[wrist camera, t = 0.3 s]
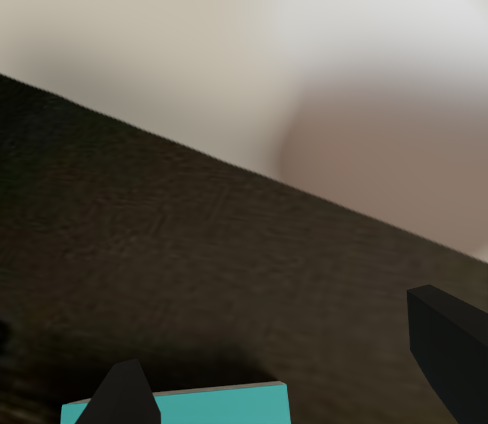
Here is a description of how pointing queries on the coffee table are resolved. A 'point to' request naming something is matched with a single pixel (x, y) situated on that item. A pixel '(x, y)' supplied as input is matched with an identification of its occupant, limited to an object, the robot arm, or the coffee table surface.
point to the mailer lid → (214, 407)
